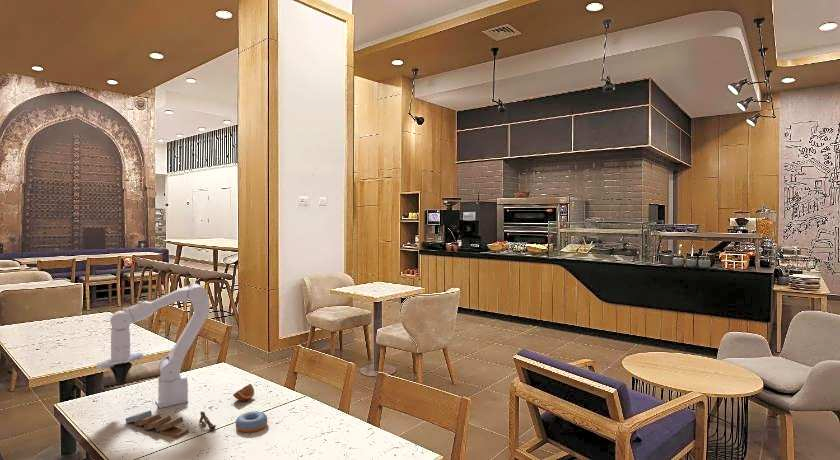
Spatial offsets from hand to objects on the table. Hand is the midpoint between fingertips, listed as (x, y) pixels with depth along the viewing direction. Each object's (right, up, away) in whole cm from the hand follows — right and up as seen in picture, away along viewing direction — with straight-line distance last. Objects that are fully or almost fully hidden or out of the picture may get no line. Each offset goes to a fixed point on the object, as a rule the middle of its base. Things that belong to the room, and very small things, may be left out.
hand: (120, 384), depth 166 cm
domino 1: (+8, -9, -7) cm, 14 cm away
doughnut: (+49, -11, -10) cm, 51 cm away
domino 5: (+23, -10, -14) cm, 29 cm away
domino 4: (+21, -9, -13) cm, 27 cm away
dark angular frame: (+35, -11, -11) cm, 38 cm away
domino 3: (+17, -10, -12) cm, 23 cm away
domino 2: (+12, -9, -9) cm, 18 cm away
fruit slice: (+38, -10, +12) cm, 41 cm away
